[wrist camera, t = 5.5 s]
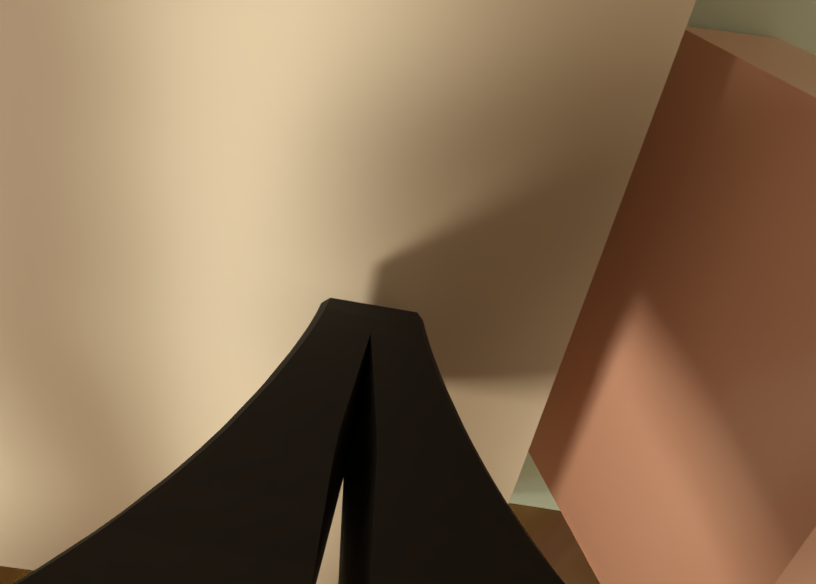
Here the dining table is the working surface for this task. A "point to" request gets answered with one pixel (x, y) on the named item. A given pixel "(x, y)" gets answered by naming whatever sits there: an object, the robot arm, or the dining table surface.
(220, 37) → the deck
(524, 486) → the mat
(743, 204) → the tile
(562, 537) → the dining table surface
